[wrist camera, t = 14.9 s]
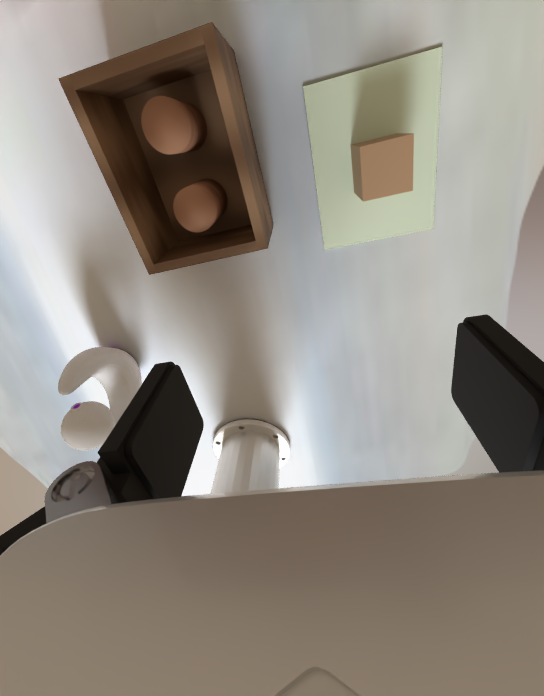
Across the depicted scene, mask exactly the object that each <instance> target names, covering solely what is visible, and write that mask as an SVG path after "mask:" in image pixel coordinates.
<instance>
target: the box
mask: <svg viewBox="0 0 544 696" xmlns="http://www.w3.org/2000/svg"><path fill="white" fill-rule="evenodd" d="M59 81H60V83H61V86H62V88H63V90H64V92H65V94H66V96H67V99H68V101H69V103H70V105H71V107H72V109H73V111H74V114H75V116H76V118H77V120H78V122H79V124H80V127H81V129H82V131H83V133H84V135H85V137H86V140H87V142H88V144H89V146H90V148H91V150H92V152H93V155H94V157H95V159H96V161H97V163H98V165H99V168H100V170H101V172H102V174H103V176H104V178H105V180H106V183H107V185H108V187H109V189H110V191H111V193H112V196H113V198H114V200H115V202H116V204H117V206H118V209H119V211H120V213H121V215H122V217H123V219H124V221H125V224H126V226H127V228H128V230H129V232H130V234H131V237H132V239H133V241H134V243H135V245H136V247H137V249H138V252H139V254H140V256H141V258H142V260H143V262H144V265H145V267H146V269H147V271H148V273H149V275H150V274H155V273H159V272H164V271H168V270H173V269H177V268H182V267H186V266H191V265H195V264H200V263H204V262H209V261H213V260H217V259H222V258H226V257H231V256H235V255H240V254H244V253H249V252H253V251H258V250H262V249H267V248H268V244H269V241H270V237H271V233H272V229H273V222H272V217H271V213H270V209H269V204H268V200H267V195H266V191H265V187H264V182H263V178H262V173H261V169H260V165H259V160H258V156H257V151H256V147H255V142H254V138H253V134H252V129H251V125H250V120H249V116H248V112H247V107H246V103H245V98H244V94H243V90H242V85H241V81H240V76H239V72H238V68H237V63H236V59H235V54H234V50H233V49H232V48H231V47H230V45H229V44H228V43H227V41H226V40H225V39H224V37H223V36H222V35H221V33H220V32H219V31H218V29H217V28H216V27H215V25H214V24H213V23H212V22H211V23H208V24H206V25H203V26H200V27H197V28H195V29H192V30H189V31H187V32H184V33H181V34H178V35H176V36H173V37H170V38H168V39H165V40H162V41H159V42H157V43H154V44H151V45H149V46H146V47H143V48H140V49H138V50H135V51H132V52H130V53H127V54H124V55H121V56H119V57H116V58H113V59H111V60H108V61H105V62H102V63H100V64H97V65H94V66H92V67H89V68H86V69H83V70H81V71H78V72H75V73H73V74H70V75H67V76H64V77H62V78H59Z"/></svg>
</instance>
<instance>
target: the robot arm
mask: <svg viewBox="0 0 544 696" xmlns="http://www.w3.org/2000/svg"><path fill="white" fill-rule="evenodd" d="M451 393H452V397H453V400H454V402H455V403H456V405H457V407H458V408H459V410H460V411H461V413H462V414H463V416H464V418H465V419H466V421H467V422H468V424H469V425H470V427H471V429H472V430H473V432H474V433H475V435H476V437H477V438H478V440H479V441H480V443H481V444H482V446H483V447H484V449H485V451H486V452H487V454H488V455H489V457H490V458H491V460H492V462H493V463H494V465H495V466H496V468H497V470H498V471H499V473H484V474H467V475H452V476H438V477H425V478H411V479H397V480H383V481H369V482H356V483H343V484H330V485H317V486H304V487H291V488H279V489H278V487H279V468H281V467H282V466H283V465H284V464H285V463H286V462H287V461H288V458H289V455H290V444H289V441H288V439H287V437H286V435H285V434H284V433H283V432H282V431H281V430H279V429H278V428H277V427H275V426H273V425H271V424H269V423H266V422H263V421H259V420H250V419H245V420H237V421H233V422H230V423H228V424H226V425H224V426H223V427H221V428H220V429H219V430H218V431H217V433H216V435H215V437H214V440H213V451H214V453H215V455H216V457H217V458H218V460H219V461H218V465H217V469H216V473H215V477H214V481H213V486H212V490H211V494H206V495H194V496H182V497H181V495H182V492H183V489H184V486H185V483H186V480H187V477H188V474H189V470H190V467H191V464H192V461H193V458H194V455H195V452H196V449H197V446H198V443H199V440H200V437H201V434H202V431H203V419H202V417H201V414H200V412H199V410H198V408H197V405H196V403H195V401H194V398H193V396H192V394H191V391H190V389H189V387H188V385H187V382H186V380H185V378H184V375H183V373H182V371H181V368H180V367H179V366H178V365H175V364H174V363H173V362H166V363H159V364H155V365H154V367H153V368H152V370H151V371H150V373H149V374H148V376H147V377H146V379H145V380H144V382H143V384H142V385H141V387H140V388H139V390H138V391H137V393H136V394H135V396H134V397H133V399H132V400H131V402H130V404H129V405H128V407H127V408H126V410H125V411H124V413H123V414H122V416H121V417H120V419H119V420H118V422H117V424H116V425H115V427H114V428H113V430H112V431H111V433H110V434H109V436H108V437H107V439H106V440H105V442H104V444H103V445H102V447H101V448H100V450H99V451H98V454H99V455H100V459H99V460H98V462H97V463H96V462H93V461H86V462H82V463H79V464H77V465H74V466H72V467H70V468H69V469H67V470H66V471H64V472H63V473H62V474H61V475H60V476H58V477H57V478H56V479H55V480H54V481H53V483H52V484H51V485H50V486H49V488H48V490H47V492H46V495H45V507H43V508H42V509H40V510H39V511H37V512H36V513H34V514H33V515H31V516H30V517H28V518H26V519H25V520H24V521H22V522H20V523H19V524H17V525H16V526H14V527H13V528H11V529H10V530H8V531H7V532H5V533H4V534H2V535H1V536H0V696H544V362H543V361H542V360H540V359H539V358H538V357H537V356H536V355H535V354H533V353H532V352H531V351H530V350H529V349H527V348H526V347H525V346H524V345H523V344H522V343H520V342H519V341H518V340H517V339H516V338H515V337H513V336H512V335H511V334H510V333H509V332H507V331H506V330H505V329H504V328H503V327H502V326H500V325H499V324H498V323H497V322H496V321H495V320H493V319H492V318H491V317H490V316H488V315H480V316H473V317H467V318H465V319H464V321H463V323H459V324H458V328H457V337H456V347H455V357H454V368H453V378H452V388H451Z"/></svg>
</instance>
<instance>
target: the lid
mask: <svg viewBox="0 0 544 696" xmlns="http://www.w3.org/2000/svg"><path fill="white" fill-rule="evenodd" d="M441 66H442V47H439V48H435V49H432V50H428V51H425V52H421V53H418V54H414V55H411V56H407V57H404V58H400V59H397V60H394V61H390V62H387V63H383V64H380V65H376V66H373V67H369V68H366V69H362V70H359V71H355V72H352V73H348V74H345V75H342V76H338V77H335V78H331V79H328V80H324V81H321V82H317V83H314V84H310V85H307V86H303V92H304V99H305V107H306V114H307V122H308V130H309V137H310V145H311V152H312V160H313V167H314V175H315V183H316V190H317V198H318V205H319V213H320V220H321V228H322V236H323V243H324V250H328V249H333V248H338V247H343V246H348V245H353V244H358V243H363V242H368V241H373V240H378V239H383V238H388V237H393V236H398V235H403V234H408V233H413V232H418V231H423V230H428V229H433V223H434V203H435V183H436V164H437V144H438V125H439V105H440V85H441Z"/></svg>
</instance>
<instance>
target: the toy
mask: <svg viewBox="0 0 544 696" xmlns="http://www.w3.org/2000/svg"><path fill="white" fill-rule="evenodd" d="M90 377H95V378H96V379H97V380H98V381H99V382H100V383H101V384H102V385H103V387H104V389H105V390H106V393H107V396H108V399H109V404H110V409H109V408H108V407H107V406H105V405H103V404H101V403H98V402H92V401H91V402H83V403H76V404H74V405H73V406H72V407H71V410H70V411H69V412H68V413H67V414H66V415H65V417H64V419H63V421H62V425H61V434H62V437H63V439H64V441H65V442H66V444H67V445H69V446H70V447H72V448H75V449H78V450H91V449H95V448H97V447H99V446H101V445H103V444H104V442H105V440H106V439H107V437H108V436H109V434H110V433H111V431H112V430H113V428H114V427H115V425H116V424H117V422H118V420H119V419H120V417H121V416H122V414H123V413H124V411H125V410H126V408H127V407H128V405H129V404H130V402H131V400H132V399H133V397H134V396H135V394H136V393H137V391H138V390H139V388H140V387H141V385H142V381H141V373H140V369H139V367H138V365H137V363H136V361H135V360H134V359H133V357H132V356H130V355H129V354H128V353H127V352H125V351H123V350H120V349H116V348H110V347H95V348H91V349H88V350H85V351H83V352H81V353H80V354H78V355H77V356H75V357H74V358H73V359H72V360H71V361H70V362H69V363H68V364H67V365H66V367H65V369H64V370H63V372H62V374H61V377H60V380H59V383H58V391H59V393H60V394H61V395H68V394H70V393H72V392H73V391H74V390H75V389H77V388H78V387H79V386H80V385H81V384H83V383H84V382H85V381H86V380H87V379H89V378H90Z"/></svg>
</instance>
